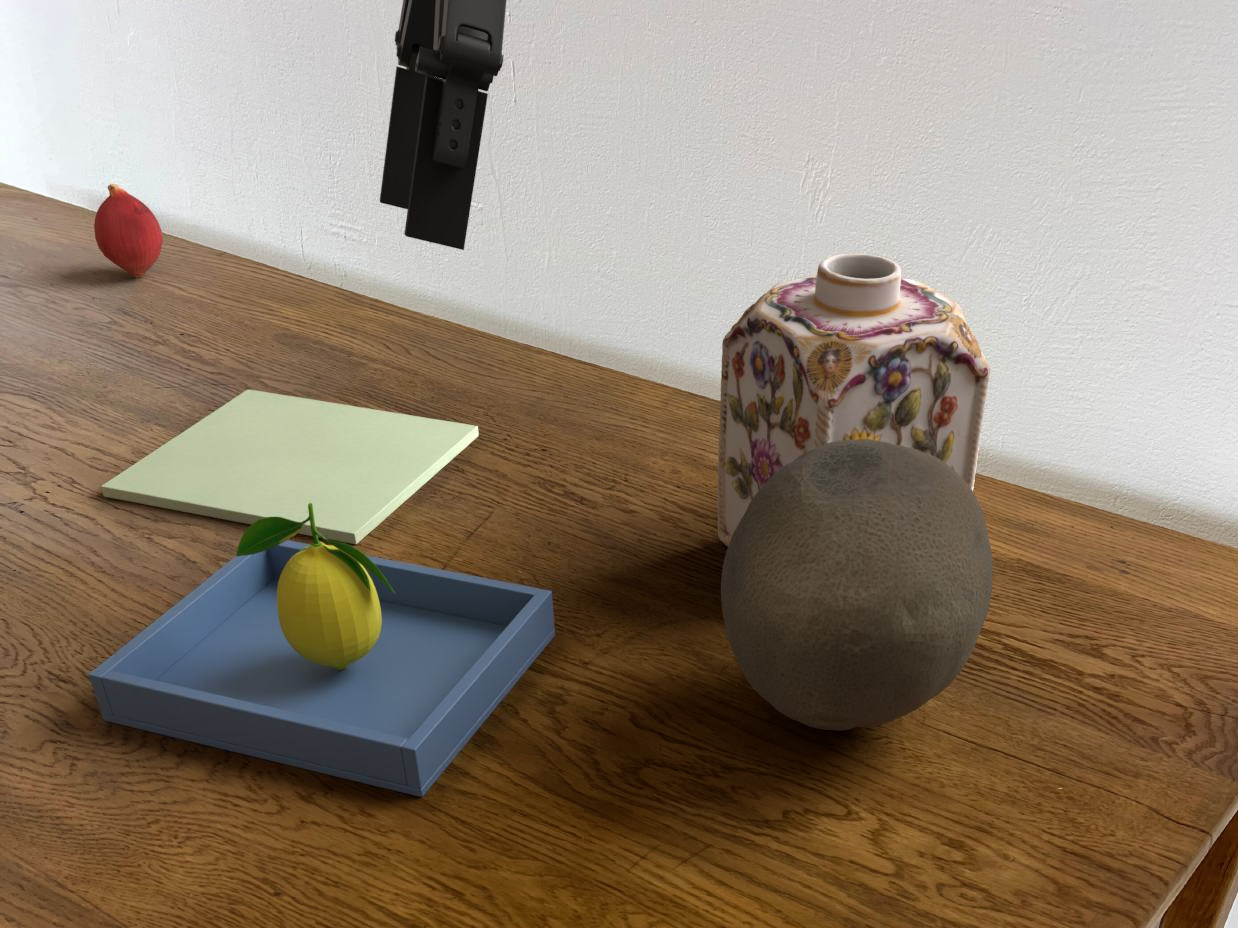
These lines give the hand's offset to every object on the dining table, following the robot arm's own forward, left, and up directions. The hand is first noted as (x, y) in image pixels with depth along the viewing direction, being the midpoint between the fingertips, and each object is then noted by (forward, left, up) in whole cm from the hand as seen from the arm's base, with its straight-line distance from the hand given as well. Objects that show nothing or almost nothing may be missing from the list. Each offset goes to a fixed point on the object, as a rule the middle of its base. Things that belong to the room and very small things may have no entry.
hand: (418, 225), depth 69 cm
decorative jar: (+20, +13, -22) cm, 32 cm away
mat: (-20, +13, -22) cm, 32 cm away
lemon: (-3, -10, -21) cm, 24 cm away
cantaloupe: (+25, -4, -22) cm, 34 cm away
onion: (-56, +43, -22) cm, 74 cm away
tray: (-3, -10, -22) cm, 24 cm away
